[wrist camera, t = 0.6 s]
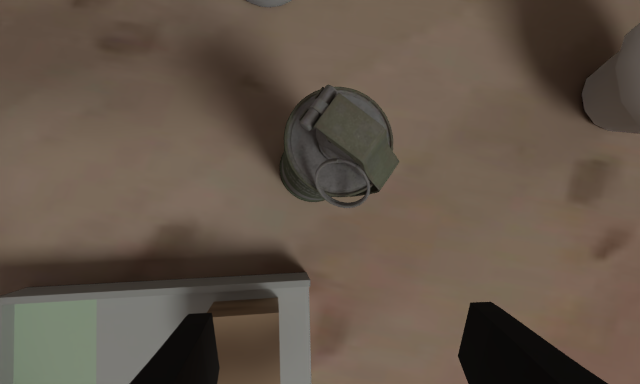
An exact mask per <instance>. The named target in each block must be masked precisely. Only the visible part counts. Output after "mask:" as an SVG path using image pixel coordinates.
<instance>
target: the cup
mask: <svg viewBox="0 0 640 384" xmlns="http://www.w3.org/2000/svg"><path fill="white" fill-rule="evenodd" d="M247 1H248V2H250V3H252V4H255V5H258V6H262V7H275V6H281V5H283V4H285V3H288V2H290V1H291V0H247Z"/></svg>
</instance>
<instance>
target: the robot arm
mask: <svg viewBox="0 0 640 384" xmlns="http://www.w3.org/2000/svg"><path fill="white" fill-rule="evenodd" d="M458 357H459V360H460V363H461V365H462V368H463V371H464V373H465V376H466V379H467V381H468V383H469V384H608V383H606V382H605V381H603V380H602V379H600V378H599V377H597V376H596V375H594V374H593V373H591V372H590V371H588V370H587V369H585V368H584V367H582V366H581V365H579V364H578V363H577V362H575V361H574V360H572V359H571V358H569V357H568V356H567V355H565V354H564V353H562V352H561V351H560V350H558V349H557V348H555V347H554V346H553V345H551V344H550V343H548V342H547V341H546V340H544V339H543V338H541V337H540V336H539V335H537V334H536V333H535V332H533V331H532V330H530V329H529V328H528V327H526V326H525V325H523V324H522V323H521V322H519V321H518V320H517V319H515V318H514V317H512V316H511V315H510V314H508V313H507V312H505V311H504V310H502V309H501V308H500V307H498V306H497V305H495V304H494V303H492V302H476V303H470V307H469V311H468V315H467V319H466V324H465V328H464V332H463V337H462V341H461V345H460V349H459V354H458ZM219 369H220V367H219V360H218V352H217V345H216V338H215V331H214V324H213V316H212V313H193V314H188V315H187V316H186V317H185V318H184V319H183V320H182V322H181V323H180V324H179V325H178V327H177V328H176V329H175V330H174V332H173V333H172V334H171V335H170V336H169V338H168V339H167V340H166V341H165V343H164V344H163V345H162V346H161V347H160V349H159V350H158V351H157V352H156V353H155V355H154V356H153V357H152V358H151V359H150V361H149V362H148V363H147V364H146V365H145V366H144V367H143V369H142V370H141V371H140V372H139V373H138V374H137V375H136V377H135V378H134V379H133V380H132V381H131V382H130V383H129V384H217V382H218V375H219Z"/></svg>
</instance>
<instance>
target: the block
mask: <svg viewBox="0 0 640 384" xmlns="http://www.w3.org/2000/svg"><path fill="white" fill-rule="evenodd" d="M207 313H212V316H213V324H214V331H215V338H216V345H217V352H218V360H219V367H220V369H219V375H218V382H217V384H280V340H279V304H278V297H277V298H262V299H246V300H231V301H215V302H213V304H212V305H211V307H210V308H209V310H208V312H207Z"/></svg>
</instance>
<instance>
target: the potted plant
mask: <svg viewBox="0 0 640 384" xmlns="http://www.w3.org/2000/svg"><path fill="white" fill-rule="evenodd" d="M582 99H583V104H584V110H585V112H586V113H587V115H588V116H589V117H590V119H591V120H592V122H593V123H594V124H595V125H597V126H599V127H601V128H603V129H606V130H608V131H615V132H627V133H639V134H640V23H639V24H638V25H637V26H635V27H634V28H633V29H632V30H631V31H630V32H628V33H627V34H626V35H625V36H624V40H623V43H622V46H621V50H620V51H618V52H617V53H616V54H615V55H614V56H612V57H611V58H610V59H609V60H608V61H607V62H605V63H604V64H603V65H602V66H601V67H600V68H598V69H597V70H596V71H595V72H594V73H593V74H591V75H590V76H589V77H588V78H587V79H586V82H585V85H584V88H583V91H582Z"/></svg>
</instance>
